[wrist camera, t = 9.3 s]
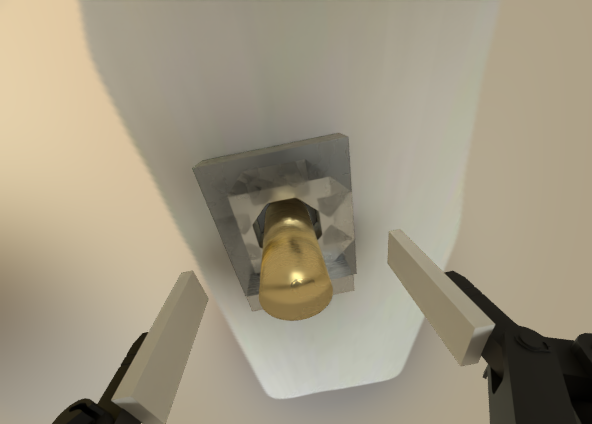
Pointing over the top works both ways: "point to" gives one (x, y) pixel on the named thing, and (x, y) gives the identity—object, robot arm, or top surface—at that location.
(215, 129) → the top surface
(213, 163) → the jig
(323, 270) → the brass rounded cylinder
